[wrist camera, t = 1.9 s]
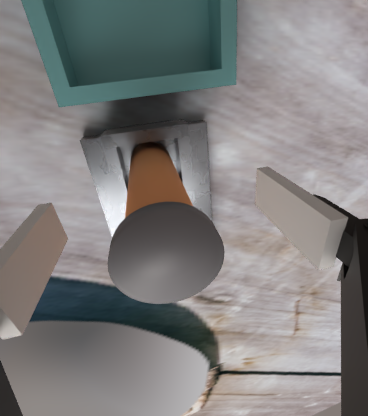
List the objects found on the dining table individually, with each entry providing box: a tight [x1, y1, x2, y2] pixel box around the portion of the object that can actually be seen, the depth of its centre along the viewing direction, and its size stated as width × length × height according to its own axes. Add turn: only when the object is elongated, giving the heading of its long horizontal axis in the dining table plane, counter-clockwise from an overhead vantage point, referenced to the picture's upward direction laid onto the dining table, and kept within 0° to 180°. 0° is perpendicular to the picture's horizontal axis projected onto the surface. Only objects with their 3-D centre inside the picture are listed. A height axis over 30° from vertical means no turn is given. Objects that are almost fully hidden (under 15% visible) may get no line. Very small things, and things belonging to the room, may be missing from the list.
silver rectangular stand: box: [80, 119, 212, 237], centre depth 24 cm, size 12×17×5 cm
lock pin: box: [108, 142, 224, 304], centre depth 16 cm, size 5×5×15 cm
